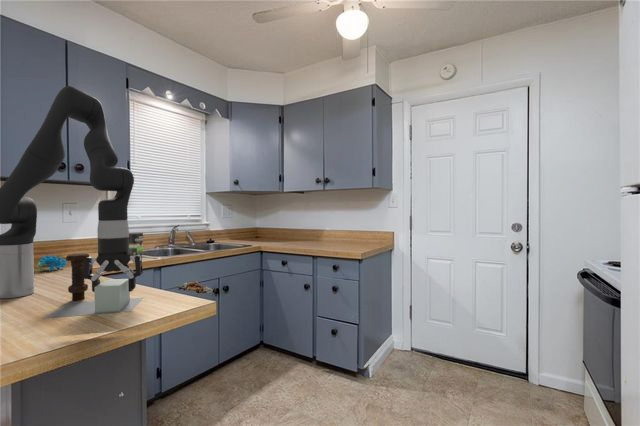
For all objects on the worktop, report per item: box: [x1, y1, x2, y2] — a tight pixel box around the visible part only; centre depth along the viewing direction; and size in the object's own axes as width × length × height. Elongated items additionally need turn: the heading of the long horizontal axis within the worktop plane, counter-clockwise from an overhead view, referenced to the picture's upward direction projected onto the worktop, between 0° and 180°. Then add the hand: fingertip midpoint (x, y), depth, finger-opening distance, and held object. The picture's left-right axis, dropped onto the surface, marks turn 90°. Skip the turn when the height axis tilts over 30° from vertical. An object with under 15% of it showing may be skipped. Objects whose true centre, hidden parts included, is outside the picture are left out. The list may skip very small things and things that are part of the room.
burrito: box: [177, 280, 213, 295], centre depth 112 cm, size 7×12×4 cm, turn 100°
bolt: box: [65, 252, 90, 302], centre depth 97 cm, size 6×5×15 cm
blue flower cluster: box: [36, 254, 68, 273], centre depth 146 cm, size 11×6×10 cm
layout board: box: [43, 297, 144, 319], centre depth 90 cm, size 20×14×1 cm
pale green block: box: [94, 278, 131, 313], centre depth 91 cm, size 6×9×7 cm, turn 16°
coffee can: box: [129, 232, 144, 257], centre depth 188 cm, size 10×10×14 cm
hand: (114, 292), depth 91 cm, fingers open, 8 cm apart
